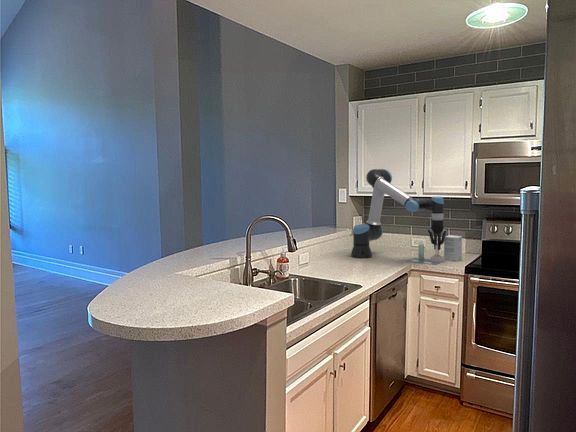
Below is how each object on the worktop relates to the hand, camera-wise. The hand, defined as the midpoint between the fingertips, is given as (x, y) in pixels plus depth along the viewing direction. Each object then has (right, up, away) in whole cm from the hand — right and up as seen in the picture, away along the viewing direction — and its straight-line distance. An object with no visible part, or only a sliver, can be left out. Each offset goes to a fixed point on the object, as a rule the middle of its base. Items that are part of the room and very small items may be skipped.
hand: (437, 254), depth 281 cm
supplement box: (+13, -5, +5) cm, 15 cm away
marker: (-10, -5, +2) cm, 12 cm away
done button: (0, -4, 0) cm, 4 cm away
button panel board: (-8, -5, +2) cm, 10 cm away
